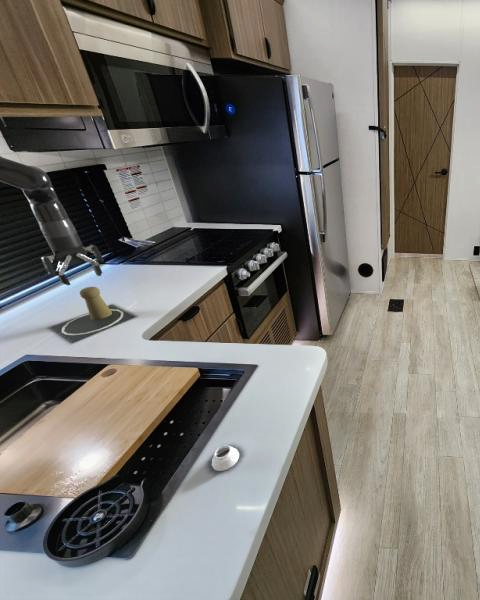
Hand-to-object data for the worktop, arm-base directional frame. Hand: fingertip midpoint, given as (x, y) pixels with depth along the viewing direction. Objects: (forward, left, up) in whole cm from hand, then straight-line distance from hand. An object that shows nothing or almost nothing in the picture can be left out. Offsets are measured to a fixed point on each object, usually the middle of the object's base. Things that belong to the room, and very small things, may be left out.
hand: (84, 280), depth 112 cm
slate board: (-3, -2, -15) cm, 15 cm away
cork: (0, 0, -14) cm, 14 cm away
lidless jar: (-14, -91, -15) cm, 93 cm away
